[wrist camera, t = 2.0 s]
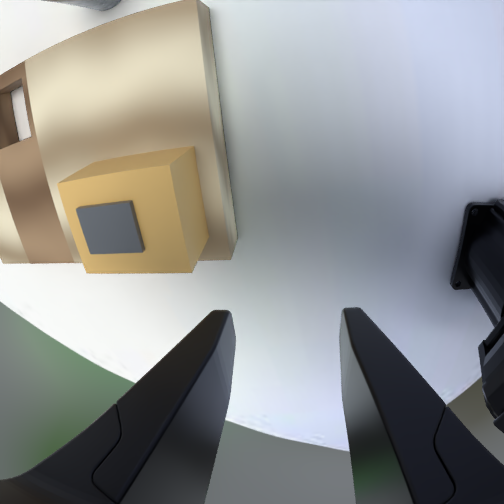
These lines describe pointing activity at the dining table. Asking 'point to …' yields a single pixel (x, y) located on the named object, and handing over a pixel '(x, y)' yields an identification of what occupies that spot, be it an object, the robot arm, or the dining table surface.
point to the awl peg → (90, 3)
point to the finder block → (137, 213)
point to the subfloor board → (111, 123)
